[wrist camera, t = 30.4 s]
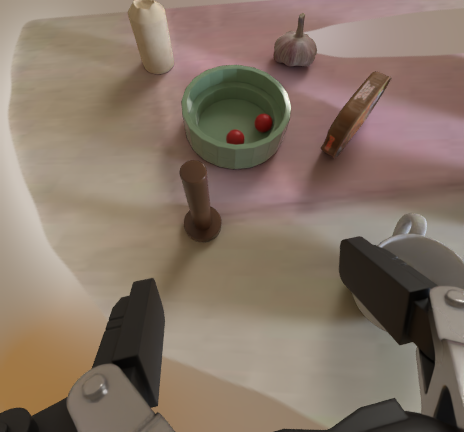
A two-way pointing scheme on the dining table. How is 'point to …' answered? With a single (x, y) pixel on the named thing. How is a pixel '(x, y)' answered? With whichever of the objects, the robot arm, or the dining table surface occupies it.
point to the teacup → (421, 256)
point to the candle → (151, 35)
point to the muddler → (199, 203)
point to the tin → (354, 113)
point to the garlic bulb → (295, 47)
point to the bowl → (234, 115)
